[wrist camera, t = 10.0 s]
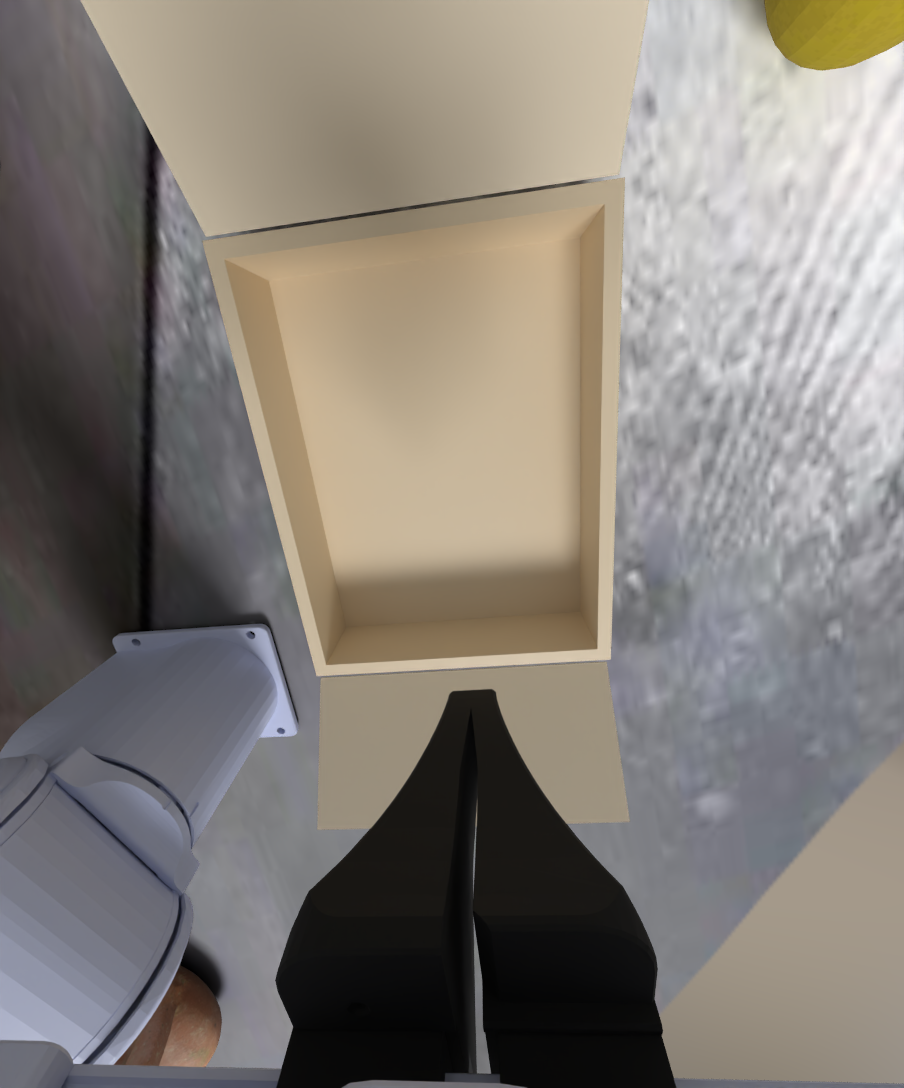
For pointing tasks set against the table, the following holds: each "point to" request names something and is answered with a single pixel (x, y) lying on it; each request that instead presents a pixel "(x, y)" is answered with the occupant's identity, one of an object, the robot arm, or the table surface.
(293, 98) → the near flap
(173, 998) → the ceramic jug
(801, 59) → the lemon
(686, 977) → the table surface
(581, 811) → the far flap
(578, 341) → the carton
